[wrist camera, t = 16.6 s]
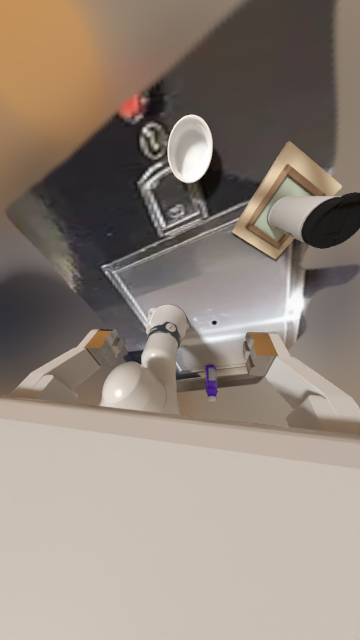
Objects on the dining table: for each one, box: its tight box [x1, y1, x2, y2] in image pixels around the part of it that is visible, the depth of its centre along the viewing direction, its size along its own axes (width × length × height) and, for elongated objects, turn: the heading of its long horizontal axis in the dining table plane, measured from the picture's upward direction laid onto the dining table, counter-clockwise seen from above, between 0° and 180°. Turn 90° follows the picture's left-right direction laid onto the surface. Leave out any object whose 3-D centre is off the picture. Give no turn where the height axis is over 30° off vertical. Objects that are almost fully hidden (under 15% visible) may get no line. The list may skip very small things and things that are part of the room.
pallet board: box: [231, 141, 342, 259], centre depth 35 cm, size 17×15×2 cm
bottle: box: [206, 366, 218, 402], centre depth 77 cm, size 7×6×17 cm
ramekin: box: [168, 115, 213, 183], centre depth 30 cm, size 9×9×4 cm
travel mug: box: [267, 192, 360, 249], centre depth 27 cm, size 6×7×20 cm
